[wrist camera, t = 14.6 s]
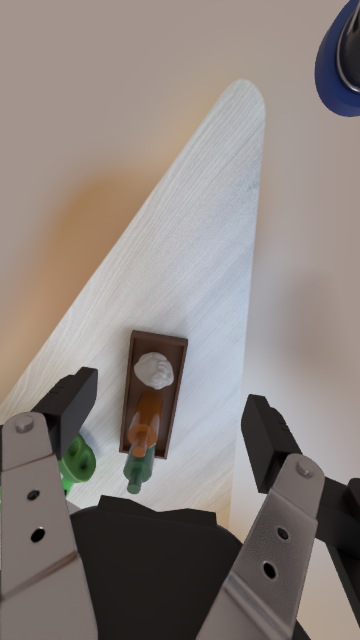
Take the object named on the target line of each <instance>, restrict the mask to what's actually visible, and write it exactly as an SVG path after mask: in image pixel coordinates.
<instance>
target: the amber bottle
mask: <svg viewBox="0 0 360 640" xmlns="http://www.w3.org/2000/svg"><path fill="white" fill-rule="evenodd" d="M162 408H163V400H162V398H161V396H160V395H159V394H157V393H155V392H146V393H143V394H142V395H141V396H140V398H139V400H138V403H137V406H136V409H135V412H134V416H133V419H132V422H131V425H130V428H129V431H128V440H129V442H130V443H131V444H132V445H133V448H132V454H133V455H134V456H135V457H143V456H144V455H145V454H146V450H147V448H150V447H152V446H153V445H155V443H156V442H157V438H158V432H159V426H160V420H161V414H162Z"/></svg>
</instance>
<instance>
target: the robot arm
mask: <svg viewBox="0 0 360 640" xmlns="http://www.w3.org/2000/svg"><path fill="white" fill-rule="evenodd" d="M335 69H336V73H337V76H338V79H339V81H340V82H341V84H342V85H343V86H344V87H345V88H346V89H347V90H348V91H349V92H351V93H353V94H356V95H360V1H359V3H358V6H357V8H356V9H355V10H354V12H353V13H352V14H351V16H350V17H349V19H348V20H347V21H346V23H345V25H344V26H343V28H342V30H341V32H340V35H339V37H338V40H337V44H336V49H335ZM97 381H98V370H97V369H94V368H88V367H81V368H80V370H79V371H78V372H77V373H76V374H75V375H68V376H66V377H64V378H62V379H60V380H59V381H58V382H57V384H56V385H55V386H54V387H53V388H52V389H51V390H50V391H49V393H47V394H46V395H45V396H44V397H43V398H42V399H41V400H40V401H39V403H38V404H37V405H36V406H35V407H34V408H33V409H32V410H31V411H30V412H25V413H21V414H18V415H15V416H13V417H12V418H10V419H9V420H8V421H7V422H6V423H5V424H4V425H0V486H1V570H0V640H311V639H310V638H309V636H308V635H307V633H306V632H305V631H304V629H303V628H302V626H301V625H300V624H299V622H298V621H297V619H296V617H297V613H298V608H299V604H300V600H301V595H302V591H303V587H304V582H305V578H306V573H307V569H308V565H309V561H310V556H311V551H312V547H313V543H314V539H315V538H317V539H319V540H321V541H323V542H325V543H326V546H327V548H328V551H329V553H330V556H331V558H332V561H333V563H334V566H335V568H336V571H337V573H338V576H339V578H340V581H341V583H342V585H343V588H344V590H345V593H346V595H347V598H348V600H349V603H350V605H351V608H352V610H353V613H354V615H355V618H356V620H357V623H358V625H359V627H360V478H353V479H351V480H350V481H349V483H348V485H347V486H346V485H344V484H341V483H339V482H337V481H335V480H332V479H330V478H328V477H325V476H324V473H323V471H322V470H321V468H320V467H319V466H318V465H317V464H316V463H315V462H314V461H312V460H311V459H310V458H308V457H306V456H304V455H303V454H302V452H301V450H300V448H299V446H298V444H297V443H296V441H295V439H294V437H293V435H292V433H291V432H290V430H289V428H288V426H287V425H286V422H285V420H284V418H283V417H282V415H281V414H280V413H279V412H278V411H277V410H276V409H275V408H272V407H270V406H269V404H268V401H267V399H266V398H265V396H259V395H253V394H249V396H248V398H247V402H246V405H245V408H244V412H243V415H242V419H241V431H242V434H243V437H244V441H245V445H246V449H247V452H248V456H249V460H250V463H251V467H252V471H253V474H254V477H255V482H256V485H257V489H258V492H259V493H263V494H267V497H266V499H265V501H264V503H263V505H262V507H261V509H260V511H259V513H258V515H257V517H256V519H255V521H254V523H253V525H252V527H251V529H250V531H249V534H248V536H247V538H246V539H245V541H244V544H242V543H241V542H240V541H239V540H238V539H237V538H236V537H235V536H234V535H233V534H232V533H231V532H229V531H228V530H227V529H225V528H223V527H222V526H220V525H218V524H217V521H216V513H215V512H209V511H202V510H196V509H189V508H186V509H179V510H171V511H164V512H156V511H154V510H152V509H150V508H147V507H145V506H143V505H141V504H139V503H137V502H134V501H132V500H130V499H125V498H118V497H112V496H105V495H101V498H100V500H99V503H98V506H92V507H88V508H84V509H82V510H79V511H77V512H75V513H73V514H71V515H69V511H68V506H67V502H66V497H65V493H64V488H63V484H62V480H61V475H60V471H59V466H58V462H57V461H61V460H62V458H63V457H64V455H65V453H66V452H67V450H68V448H69V446H70V445H71V443H72V441H73V440H74V438H75V436H76V435H77V433H78V431H79V430H80V428H81V426H82V425H83V423H84V421H85V419H86V418H87V416H88V414H89V413H90V411H91V409H92V408H93V406H94V403H95V400H96V396H97Z"/></svg>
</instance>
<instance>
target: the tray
mask: <svg viewBox="0 0 360 640" xmlns="http://www.w3.org/2000/svg"><path fill="white" fill-rule="evenodd" d="M187 346H188V339H184V338H178V337H172V336H166V335H160V334H153V333H147V332H141V331H135V330H133V332H132V334H131V339H130V349H129V358H128V368H127V378H126V388H125V398H124V407H123V417H122V427H121V437H120V447H119V452H121V453H127V454H128V453H129V449H130V446H131V443H130V442H129V440H128V431H129V428H130V425H131V422H132V419H133V416H134V412H135V409H136V406H137V403H138V400H139V398H140V396H141V395H142V394H143V393H146V392H155V393H157V394H159V395H160V396H161V398H162V400H163V408H162V414H161V420H160V426H159V432H158V439H157V445H156V451H155V457H154V458H159V459H165V460H166V459H167V454H168V449H169V443H170V438H171V432H172V427H173V422H174V416H175V411H176V406H177V400H178V395H179V389H180V384H181V379H182V373H183V368H184V362H185V357H186V352H187ZM150 352H158V353H161V354H162V355H164V356H165V357H166V359H167V361H169V362H170V364H171V367H172V370H173V375H174V379H173V382H172V383H171V384H170V385H168V386H165V387H162V388H161V389H155V388H153V387H151V386H147V385H145V384H144V383H143V382H142V381H141V380H140V379H139V378H138V377H137V376H136V374H135V371H134V366H135V365H136V364H137V363H138V362H139V359H140V358H141V356H142V355H144V354H147V353H150Z"/></svg>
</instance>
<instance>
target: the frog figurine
mask: <svg viewBox="0 0 360 640" xmlns="http://www.w3.org/2000/svg"><path fill="white" fill-rule="evenodd" d="M134 371H135V374H136V376H137V377H138V378H139V379H140V380H141V381H142V382H143V383H144V384H145V385H147V386H151V387H153V388H155V389H161V388H162V387H165V386H168V385H170V384H171V383H172V382H173V379H174V375H173V370H172V367H171V364H170V362H169V361H167V359H166V357H165V356H164V355H162V354H161V353H158V352H150V353H147V354H144V355H142V356H141V358H140V359H139V362H138V363H137V364H136V365H135V366H134Z"/></svg>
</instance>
